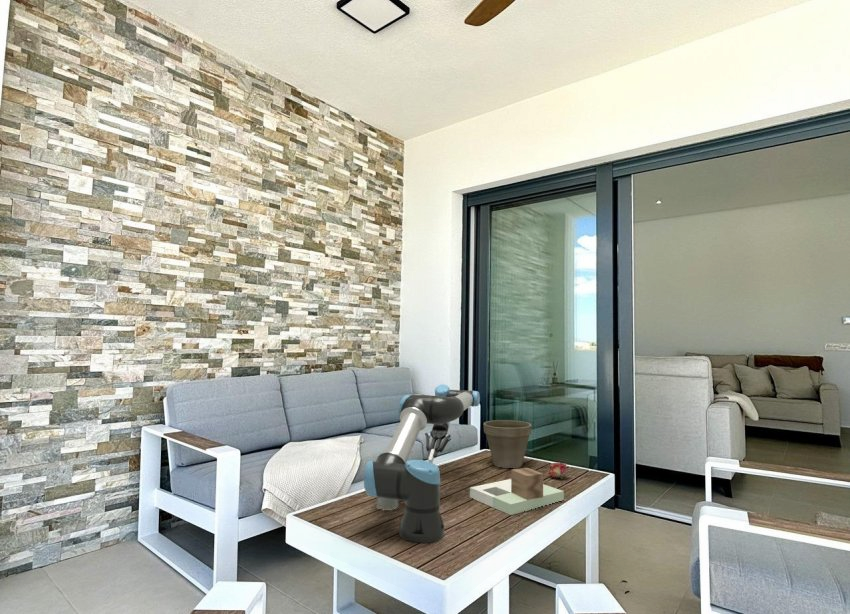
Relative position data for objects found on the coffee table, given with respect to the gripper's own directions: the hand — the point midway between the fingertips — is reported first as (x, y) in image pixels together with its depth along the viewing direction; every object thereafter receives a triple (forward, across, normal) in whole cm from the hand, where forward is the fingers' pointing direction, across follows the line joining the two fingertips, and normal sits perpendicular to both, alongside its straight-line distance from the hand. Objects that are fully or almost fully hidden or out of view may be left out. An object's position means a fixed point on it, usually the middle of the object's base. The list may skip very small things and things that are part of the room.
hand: (430, 461), depth 220 cm
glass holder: (+33, +5, +10) cm, 35 cm away
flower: (-19, -55, -25) cm, 63 cm away
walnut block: (+15, -44, +3) cm, 47 cm away
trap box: (+12, -40, -4) cm, 42 cm away
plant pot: (-32, -29, -33) cm, 55 cm away
